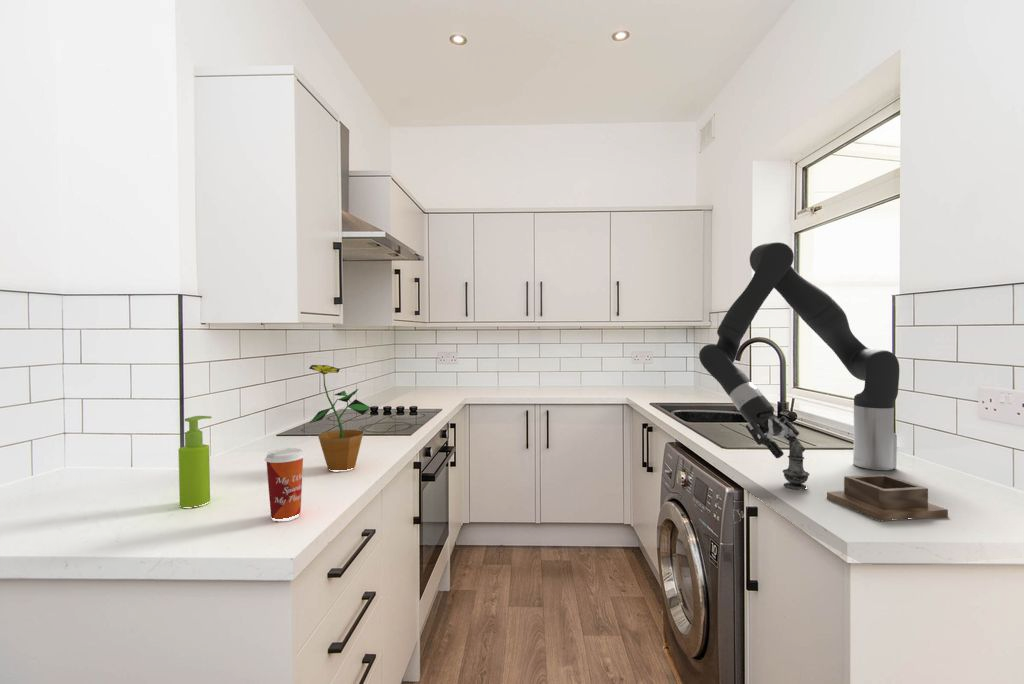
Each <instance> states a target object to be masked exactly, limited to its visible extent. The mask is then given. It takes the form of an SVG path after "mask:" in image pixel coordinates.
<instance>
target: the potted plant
mask: <svg viewBox="0 0 1024 684" xmlns="http://www.w3.org/2000/svg"><path fill="white" fill-rule="evenodd" d="M308 368H309V370H312V371H316V372H319V373H321V374H322V375H323V387H324V391H325V395H326V397H327V400H328V403H329V404H330V405H331V407H329V408H326V409H323V410H320V411H318V412H317V413H316V415H314V417H313V418H312V419H311V420H310V422H309V424H312V423H315V422H319V421H322V420H323V419H324V418H325V416H326V415H327V414H328V413H329V412H330V411H331V410H332V411H333V412H334V414H335V417H336V420H337V423H338V427H339V430H338V429H337V430H330V431H324V432H322V433H319V434H318V435H317V436H318V440H319V443H320V447H321V450H322V453H323V457H324V461H325V464H326V468H327V470H328V469H330V470H347V469H351V468H354V467H355V468H356V464H357V459H358V455H359V451H360V447H361V445H362V440H363V436H364V431H361V430H357V429H343V425H342V422H341V420H340V419H341V418H342V417H343V415H344V413H345V412H346V410H347V409H348V408H349V409H351V410H353V411H355V412H356V413H359V414H360V415H364V414H365V413H366V412H368V410H369V409H371V406H369V405H367V404H365V403H363V402H362V401H360V400H358V399H354V400H353V401H351V398H352V397H353V396H354V395H355V394H356V393H357V392H358V390H359V388H357V389H355V390H354V391H352V392H351V393H349V394H347V392H346V391H345V390H343V391H341V392H338V393H335V394H334V396H339V397H341V396H342V397H341V398H337V399H336V400H335V402H334V403H333V402H332V399H331V398H330V396H329V393H328V390H327V386H326V379H325V378H326V377H325V375H326V374H329V373H332V374H334V373H337V374H338V373H339V372H340V370H341V369H340V368H338V367H334V366H330V365H329V364H328V365H327V364H326V365H325V364H324V365H323V364H322V365H321V364H311V365H310V367H308ZM338 401H340V402H344V403H346V407H345V408H344V410H343V411H342V412H341V414H340V415H338V413H337V410H336V408H335V407H336V406H335V405H336V403H337V402H338ZM349 402H350V403H349ZM355 468H354V469H355Z"/></svg>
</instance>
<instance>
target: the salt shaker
mask: <svg viewBox="0 0 1024 684" xmlns="http://www.w3.org/2000/svg"><path fill="white" fill-rule="evenodd" d="M797 441H799V440H798V439H795V442H793V443H791V444H789V451H788V452H789V455H787V458H788V467H787V468H786V469H782V473H783V477H784V479H785V480H786V481H787V482H785V483H784V484H783V486H784V487H785V488H787V487H788V488H787V489H790V488H792V489H791V490H795V489H805V488H806V486H807V485H806V484H804V483H806V482H807V481H808V478H809V476H810V473H809V472H808V471H805V470H804V459H805V456H804V455H803V453H804V452H803V447H804V446H803V444H802V443H801V442H800V443H801V444H800V443H798V442H797Z"/></svg>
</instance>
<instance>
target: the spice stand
mask: <svg viewBox="0 0 1024 684" xmlns="http://www.w3.org/2000/svg"><path fill="white" fill-rule="evenodd" d="M843 480H844V481H843V490H840V491H839V490H837V491H827V492H826V499H827V498H828V500H829V499H830V501H832V502H834V501H835V502H834V503H836V502H837V503H836V504H839V503H840V504H839V505H841V504H842V506H843V505H844V507H845V506H847V507H846V508H848V507H849V508H848V509H850V508H851V509H850V510H852V509H853V510H852V511H855V512H857V511H858V512H857V513H859V512H860V513H859V514H861V513H862V514H861V515H864V516H866V515H867V517H868V516H869V518H871V517H872V518H871V519H873V518H874V519H873V520H875V519H877V520H880V521H879V522H882V521H881V520H892V519H908V518H923V519H929V518H928V517H938V518H948V517H949V510H948V508H944V507H943V506H942V507H941V506H938V505H936V504H933V503H930V502H929V488H928V487H924V486H921V485H919V484H916V483H912V482H909V481H906V480H903V479H900V478H897V477H893V476H891V475H887V474H885V473H884V474H867V475H851V476H849V475H847V476H845V475H844V477H843ZM877 520H876V521H877ZM908 520H909V519H908Z"/></svg>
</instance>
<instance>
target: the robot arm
mask: <svg viewBox="0 0 1024 684" xmlns="http://www.w3.org/2000/svg"><path fill="white" fill-rule="evenodd" d="M793 251H794V250H793V249H792V248H791V247H790V245H789V244H787V243H784V242H779V241H778V242H777V241H775V242H769V243H768V242H767V243H763V244H760V245H757V246H756V247H754V248H753V249H752V251H751V252H750V254H749V255H750V256H749V265H750V268H751V269H752V270H753V272H754V274H753V276H752V277H751V279H750V282H749V283H748V284H747V285H746V287H745V289H744V290H743V292H742V293H741V294H740V295H739V296H738V297H737V298H736V300H734V302H733V303H732V304H731V305H730V307H729V309H728V310H727V312H726V314H725V315H724V317H723V318H722V320H721V322H720V324H719V326H718V327H717V328H718V329H717V331H716V334H717V336H718V341H717V343H716V344H712V343H710V344H706V345H704V346H703V347H702V348H701V349H700V350H699V354H698V355H699V358H698V359H699V361H700V363H701V365H702V366H703V368H704V369H705V370H706V371H707V372H708V373H709V374H710V375H711V376H712V377H713V379H715V381H717V382H718V383H719V385H721V388H722V389H723V390H724V392H725V393H726V394H727V396H728V397H729V398H730V400H731V402H732V404H733V405H734V406H735V408H736V409H737V411H738V412H739V413H740V415H742V417H743V418H744V420H745V421H746V423H747V424H746V425H745V428H746V429H747V431H748V433H749V434H750V435H751V436H752V439H753V440H754V441H755V442H756V444H757V445H759V446H761V445H763V446H764V447H766V448H767V449H768V450H769V452H770V453H771V454H772V455H773V456H774V458H775V459H780V458H781V457H783V456H784V451H783V450H782V449H781V447H780V446H779V445H778V443H777V442H776V441H775V440H774V437H777V438H779V439H783V440H785V441H786V442H788V445H790V444H791V443H793V442H795V439H797V437H798V436H799V435H800V432H799V431H798V430H797V429H796V427H795V426H794V425H793V424H792V423H791V422H790V421H789V420H788V418H787V417H786V416H784V415H782V416H781V417H779V418H778V417H777V416H775V414H774V412H775V408H774V406H773V405H772V404H771V402H769V400H768V399H767V398H766V397H765V395H764V394H763V393H762V392H761V390H760V389H759V387H757V386H756V385H755V384H754V383H753V382H752V381H751V380H750V378H749V377H748V376H747V375H746V374H745V372H744V371H743V370H742V369H740V368H739V367H737V366H736V365H735V364H734V362H735V359H736V358H737V354H738V351H739V349H740V345H741V341H742V339H743V337H744V336H745V334H746V332H747V330H748V329H749V327H750V325H751V324H752V321H753V320H754V318H755V317H756V315H757V313H758V311H759V310H760V309H761V307H762V305H763V304H764V302H765V300H767V298H768V297H769V295H770V294H771V292H772V291H773V290H776V291H777V293H778V294H780V296H781V297H782V298H783V300H784V301H785V302H786V303H788V305H789V306H790V307H791V308H792V309H793V311H794V312H795V313H796V314H797V315H798V316H799V317H800V318H801V320H802V321H803V322H804V323H805V324H806V325H807V326H808V327H809V329H811V330H812V331H814V333H815V334H817V336H818V337H819V338H820V339H821V340H822V341H823V342H824V343H825V344H826V345H827V347H829V348H830V350H831V351H833V353H834V354H835V355H836V356H837V358H838V359H839V360H840V362H841V363H842V364H843V366H844V367H845V368H846V370H847V371H848V372H849V374H850V375H852V376H853V377H854V378H856V379H858V380H860V381H863V382H864V385H863V386H864V388H863V390H862V391H861V392H859V393H856V395H854V396H853V446H852V447H853V451H852V452H853V454H852V455H853V457H852V458H853V459H852V461H853V462H852V464H853V465H854V466H856V467H860V468H863V469H865V470H866V469H867V470H873V471H892V470H893V469H897V463H898V462H897V458H898V457H897V452H898V450H897V448H898V436H897V434H896V433H895V432H894V431H895V429H894V428H895V427H894V426H895V401H896V400H897V398H898V394H899V383H900V364H899V360H898V357H897V356H896V355H895V353H893V352H891V351H889V350H885V349H871V348H869V347H866V346H865V345H864V344H863V343H862V342H861V341H860V340H859V338H857V337H856V336H855V334H853V332H852V331H851V327H850V324H849V320H848V316H847V315H846V312H845V311H844V310H843V309H842V307H841V305H839V304H838V303H837V302H836V301H835V299H833V297H832V296H831V295H829V294H828V293H827V292H826V291H824V290H823V289H822V288H820V287H819V286H817V285H816V284H814V283H812V281H809V280H808V279H806V278H804V277H803V276H802V275H801V274H799V273H798V272H797V271H796V270H795V268H793V263H794V259H795V256H794V255H795V254H794V252H793ZM758 435H759V436H758ZM797 440H798V439H797ZM797 442H798V443H800V444H802V443H801V442H800V441H799V440H798V441H797ZM805 451H806V449H805V447H804V446H803V453H804V452H805Z"/></svg>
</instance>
